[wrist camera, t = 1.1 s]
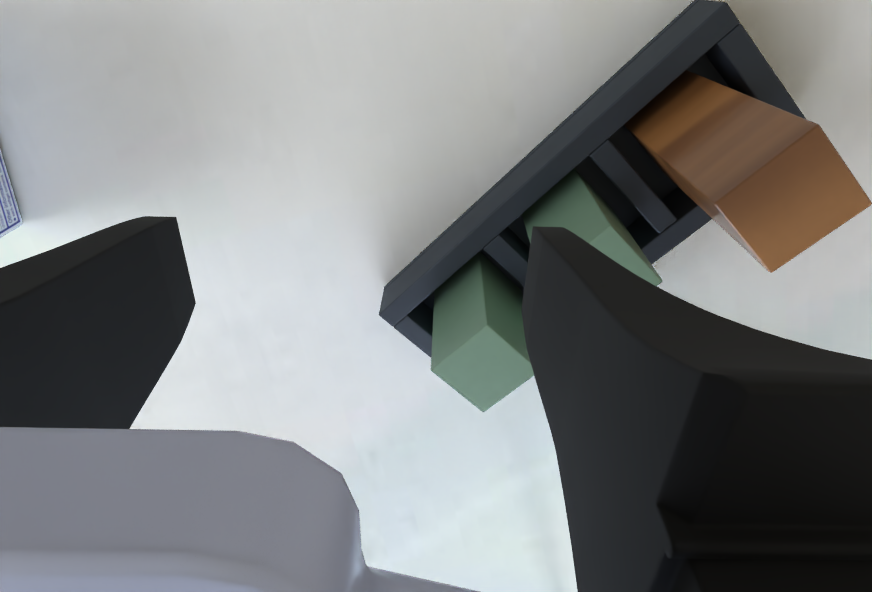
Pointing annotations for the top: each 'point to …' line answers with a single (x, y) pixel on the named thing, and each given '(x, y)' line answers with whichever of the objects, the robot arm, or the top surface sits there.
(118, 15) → the top surface
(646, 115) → the oak stick
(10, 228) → the medicine box
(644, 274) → the middle green stick
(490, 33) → the top surface
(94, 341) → the robot arm
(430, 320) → the organizer
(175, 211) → the top surface
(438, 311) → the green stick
